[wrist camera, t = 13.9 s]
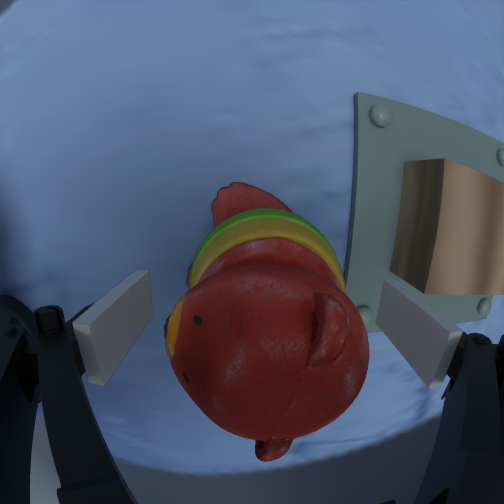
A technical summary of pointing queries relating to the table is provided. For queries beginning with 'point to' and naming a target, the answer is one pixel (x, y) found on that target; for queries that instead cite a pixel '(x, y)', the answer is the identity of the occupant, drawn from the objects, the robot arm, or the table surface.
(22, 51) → the table surface
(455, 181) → the walnut brick
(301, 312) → the stacking bear
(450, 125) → the base plate
